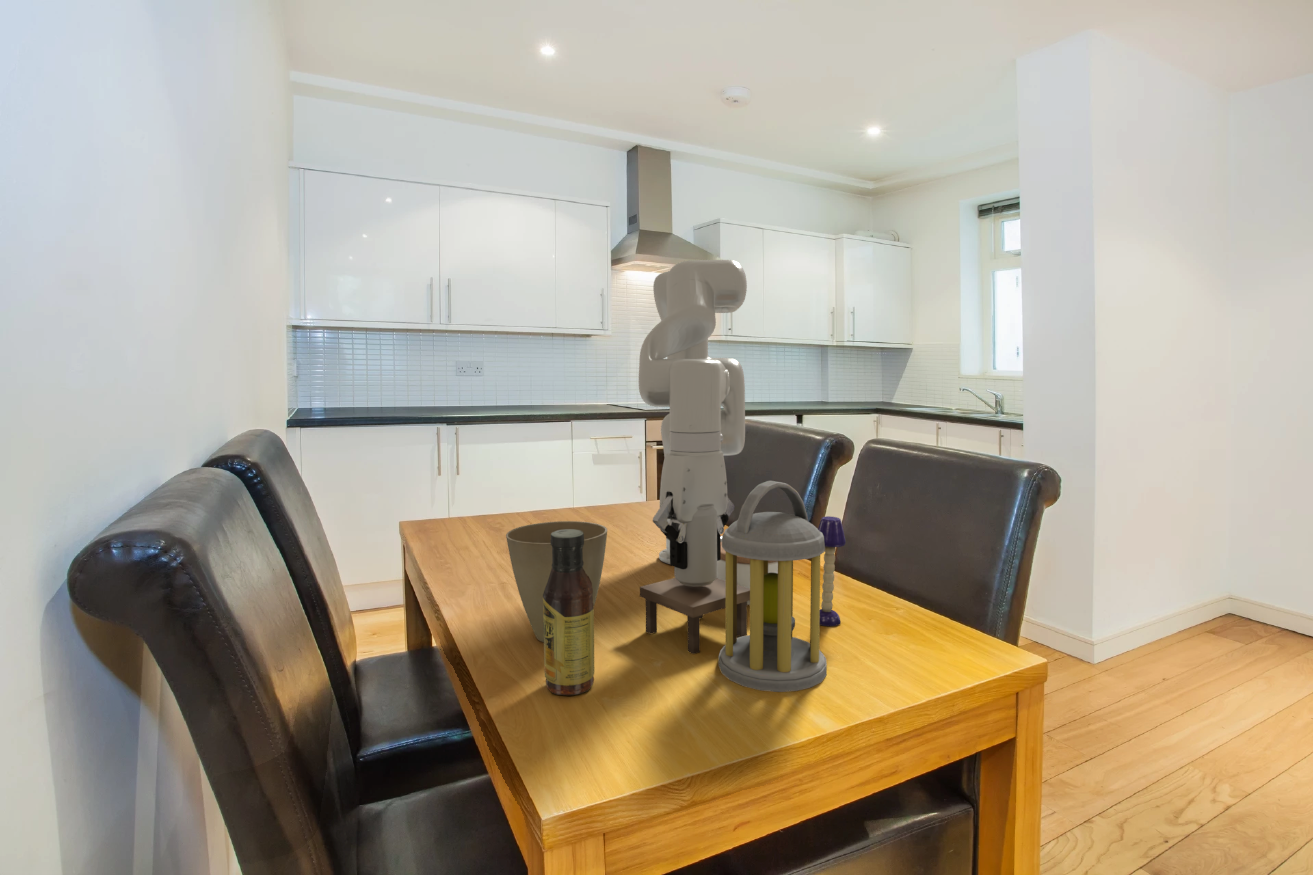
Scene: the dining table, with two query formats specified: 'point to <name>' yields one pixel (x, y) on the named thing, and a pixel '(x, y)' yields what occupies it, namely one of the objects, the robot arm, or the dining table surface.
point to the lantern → (772, 597)
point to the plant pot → (550, 562)
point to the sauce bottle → (568, 618)
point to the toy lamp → (830, 567)
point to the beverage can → (700, 549)
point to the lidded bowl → (741, 569)
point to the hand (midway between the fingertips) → (695, 561)
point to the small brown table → (692, 605)
